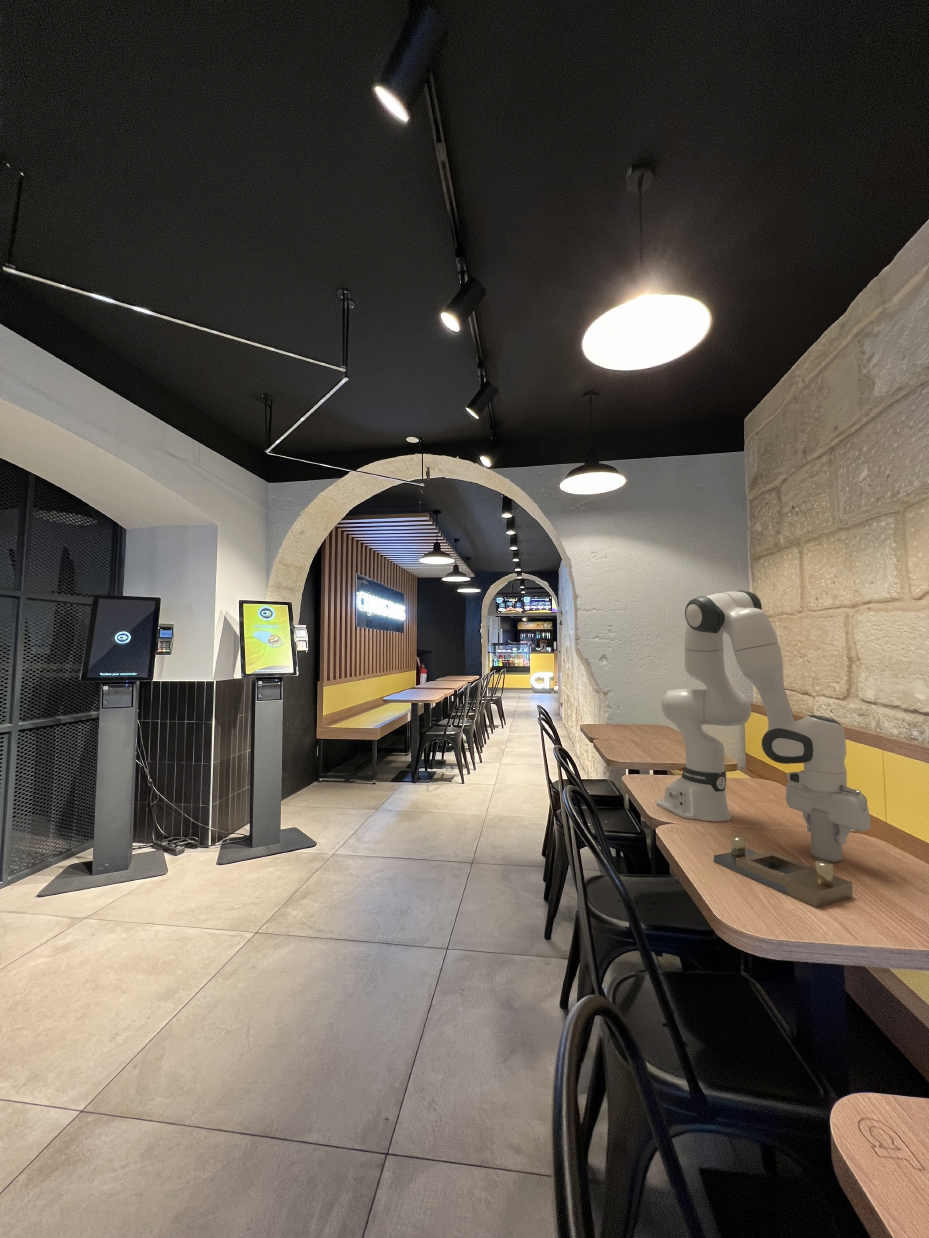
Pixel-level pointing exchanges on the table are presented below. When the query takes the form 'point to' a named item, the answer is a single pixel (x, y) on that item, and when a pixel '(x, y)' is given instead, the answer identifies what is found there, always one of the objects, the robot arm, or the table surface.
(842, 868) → the table surface
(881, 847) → the table surface
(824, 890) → the plate with brass posts
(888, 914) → the table surface
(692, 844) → the table surface
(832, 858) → the beverage can
